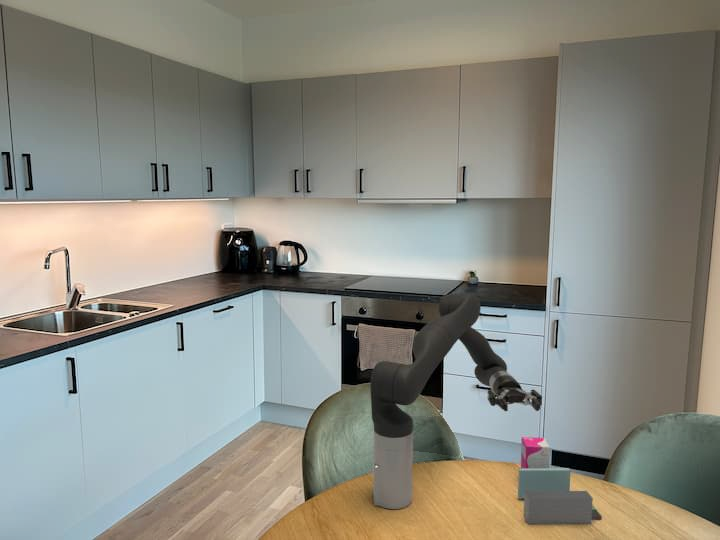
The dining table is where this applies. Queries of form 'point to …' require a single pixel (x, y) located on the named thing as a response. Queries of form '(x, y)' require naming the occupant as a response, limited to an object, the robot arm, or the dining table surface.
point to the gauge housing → (559, 507)
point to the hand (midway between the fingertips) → (522, 407)
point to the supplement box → (534, 453)
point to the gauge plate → (543, 480)
